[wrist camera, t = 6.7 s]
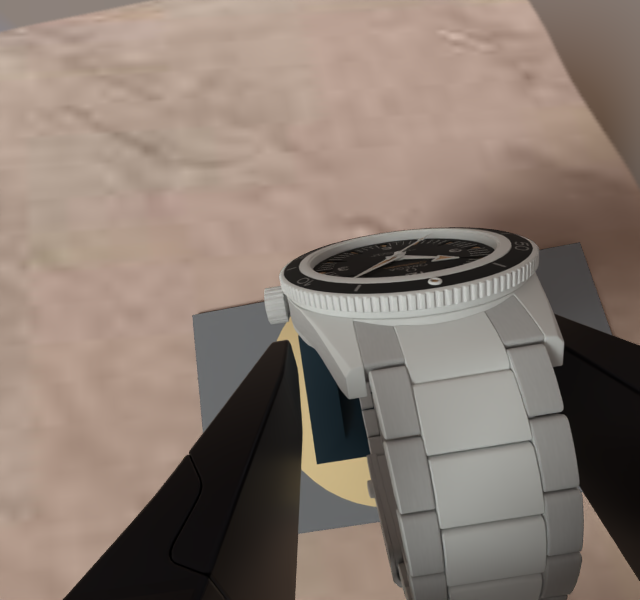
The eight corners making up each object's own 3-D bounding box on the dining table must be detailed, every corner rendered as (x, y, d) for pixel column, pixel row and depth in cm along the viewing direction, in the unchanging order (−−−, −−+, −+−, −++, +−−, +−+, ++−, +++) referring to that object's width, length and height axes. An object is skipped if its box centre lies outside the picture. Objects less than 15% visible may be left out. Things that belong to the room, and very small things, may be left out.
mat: (657, 478, 16) (664, 480, 15) (215, 543, 17) (212, 546, 17) (573, 235, 18) (577, 232, 18) (193, 307, 20) (190, 305, 19)
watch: (421, 277, 16) (595, 98, 5) (462, 468, 15) (820, 761, 4) (296, 297, 16) (218, 161, 5) (325, 490, 15) (295, 835, 4)
